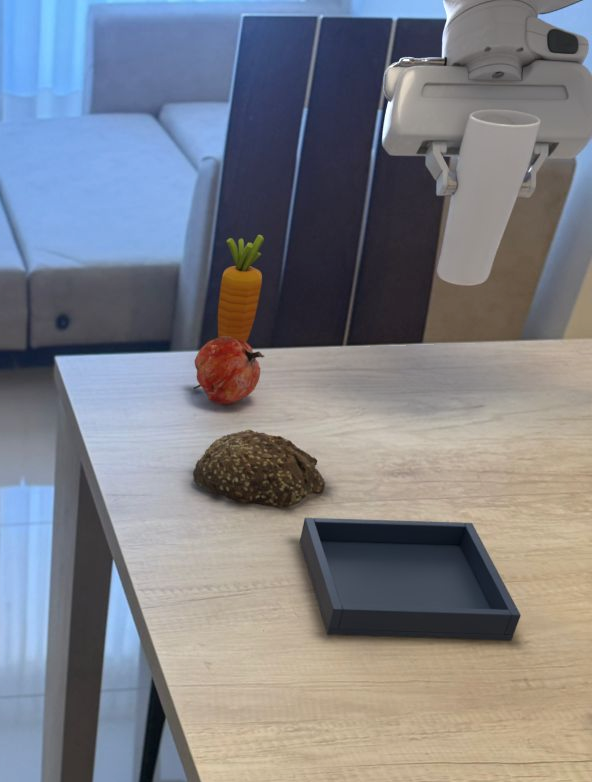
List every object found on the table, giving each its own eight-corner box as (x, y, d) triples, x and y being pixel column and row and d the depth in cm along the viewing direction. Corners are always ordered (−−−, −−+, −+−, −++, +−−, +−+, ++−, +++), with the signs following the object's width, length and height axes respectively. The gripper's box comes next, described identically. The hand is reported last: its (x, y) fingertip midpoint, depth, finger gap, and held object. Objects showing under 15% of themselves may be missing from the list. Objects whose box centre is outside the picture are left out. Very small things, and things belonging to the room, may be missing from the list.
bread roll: (175, 485, 118) (181, 439, 115) (233, 442, 125) (240, 398, 122) (289, 523, 112) (299, 476, 109) (343, 477, 120) (353, 431, 116)
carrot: (201, 367, 141) (218, 236, 130) (219, 354, 144) (238, 225, 133) (238, 377, 139) (259, 244, 128) (256, 364, 142) (277, 233, 131)
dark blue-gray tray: (464, 547, 110) (472, 522, 108) (511, 640, 98) (521, 615, 96) (299, 541, 110) (304, 517, 108) (327, 634, 98) (333, 609, 97)
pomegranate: (180, 422, 134) (242, 392, 126) (163, 359, 133) (225, 325, 125) (224, 412, 138) (287, 383, 130) (208, 351, 137) (270, 318, 129)
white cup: (476, 294, 118) (524, 129, 108) (416, 278, 121) (456, 117, 111) (505, 278, 122) (553, 117, 112) (445, 263, 125) (487, 105, 115)
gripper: (394, 36, 113) (391, 173, 113) (605, 39, 113) (603, 177, 112) (374, 79, 119) (372, 209, 119) (575, 82, 119) (573, 212, 118)
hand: (486, 193), depth 115 cm, fingers closed on white cup, 6 cm apart
